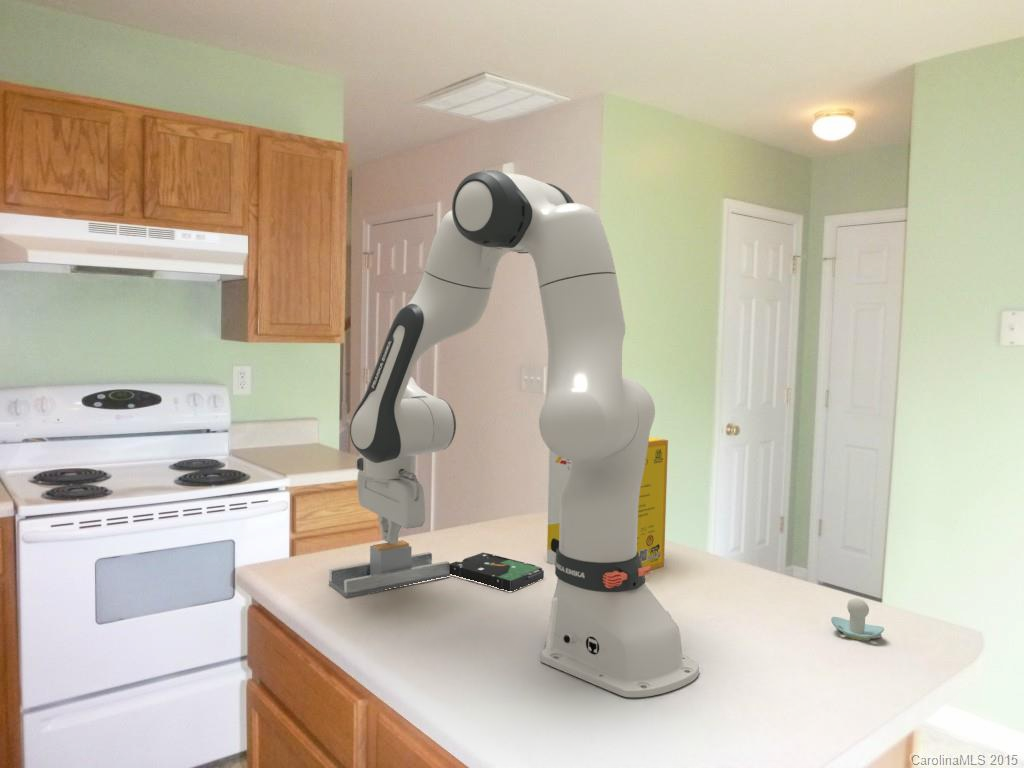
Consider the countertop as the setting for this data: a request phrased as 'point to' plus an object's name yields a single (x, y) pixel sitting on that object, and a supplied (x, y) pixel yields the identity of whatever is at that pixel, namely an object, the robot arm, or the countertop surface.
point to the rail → (385, 576)
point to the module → (389, 557)
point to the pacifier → (857, 622)
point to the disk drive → (497, 571)
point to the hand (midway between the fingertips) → (390, 541)
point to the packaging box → (648, 506)
